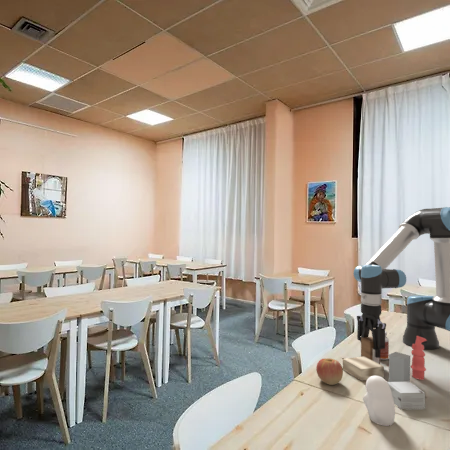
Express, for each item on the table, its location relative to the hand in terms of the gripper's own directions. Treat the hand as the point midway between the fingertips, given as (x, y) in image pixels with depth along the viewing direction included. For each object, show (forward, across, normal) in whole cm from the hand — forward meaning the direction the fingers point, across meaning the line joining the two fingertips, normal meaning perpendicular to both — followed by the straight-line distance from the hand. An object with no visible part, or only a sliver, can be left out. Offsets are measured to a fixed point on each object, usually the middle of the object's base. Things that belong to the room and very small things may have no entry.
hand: (370, 362), depth 133 cm
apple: (+1, +9, -26) cm, 28 cm away
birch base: (+1, +6, -9) cm, 11 cm away
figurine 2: (+1, +14, +9) cm, 17 cm away
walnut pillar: (+1, 0, 0) cm, 1 cm away
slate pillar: (+1, +17, -3) cm, 17 cm away
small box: (+1, +28, -12) cm, 30 cm away
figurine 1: (+1, +33, -27) cm, 43 cm away
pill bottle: (+1, -5, +10) cm, 11 cm away
